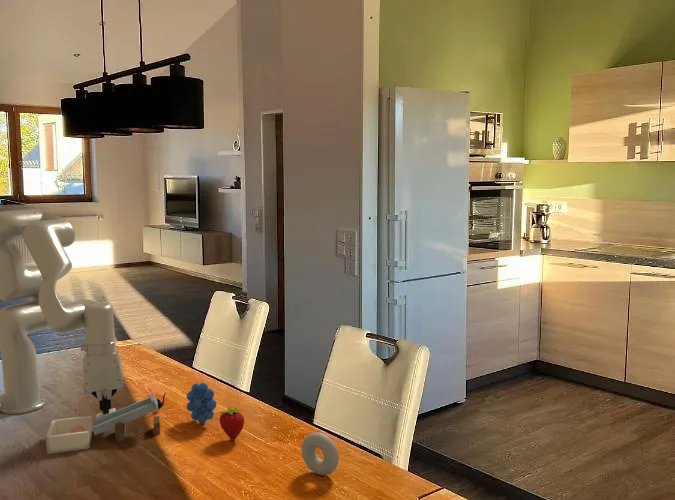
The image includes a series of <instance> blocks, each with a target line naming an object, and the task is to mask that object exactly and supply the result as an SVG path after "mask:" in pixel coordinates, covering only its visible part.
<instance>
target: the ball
mask: <svg viewBox="0 0 675 500" xmlns="http://www.w3.org/2000/svg"><path fill="white" fill-rule="evenodd" d="M77 432H85V429H84V428H83V427H82V426H76V427H74V428H73V429H72V430H71V433H77Z"/></svg>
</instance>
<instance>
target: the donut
mask: <svg viewBox="0 0 675 500" xmlns="http://www.w3.org/2000/svg"><path fill="white" fill-rule="evenodd" d="M317 449H320V451H321V452H322V454H323V459H321V458H320V457H319V456H318V453H317ZM301 455H302V458H303V461H304V464H305V465H306V466H307V468H308V469H309V470H310V471H311V472H312V473H314V474H316V475H319V476H329V475H331V474H332V473H334V471H336V469H337V467H338V464H339V459H340V458H339V457H340V455H339V451H338V448H337V446H336V444H335V442H334V440H333V439H332V438H330V437H329V436H328V435H327V434H325V433H323V432H319V431H317V432H312V433H309V434H308V435H307V436H306V437H305V438H304V439H303V442H302V444H301Z"/></svg>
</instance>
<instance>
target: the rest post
mask: <svg viewBox="0 0 675 500" xmlns="http://www.w3.org/2000/svg"><path fill="white" fill-rule="evenodd" d="M152 419H153V435H154V436H155V435H161V420H160V416H159V415H156V416H153V418H152Z"/></svg>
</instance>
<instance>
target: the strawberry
mask: <svg viewBox="0 0 675 500" xmlns="http://www.w3.org/2000/svg"><path fill="white" fill-rule="evenodd" d="M227 405H228V406H229V407H230V408H229V407H227V410H224V411H221V412H220V416H219V420H218V421H219V424H220V427H221V429H222V430H223V432H224V433H225V435H227V436H228V437H229V439H230V440H231V441H234V440H236V439H237V438H238V436H239V435H240V434H241V432H242V430H243V429H244V424H245V417H244V415H243V414H242V413H241V412H240V411H241V409H238V407H235V408H232V407H231V406H230V404H227Z"/></svg>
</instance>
